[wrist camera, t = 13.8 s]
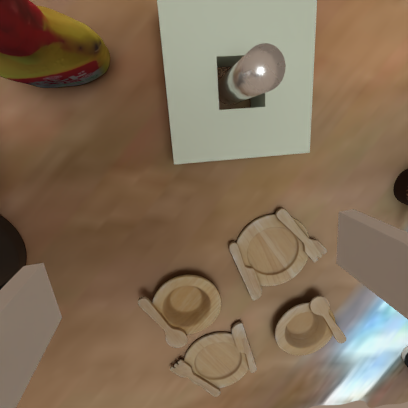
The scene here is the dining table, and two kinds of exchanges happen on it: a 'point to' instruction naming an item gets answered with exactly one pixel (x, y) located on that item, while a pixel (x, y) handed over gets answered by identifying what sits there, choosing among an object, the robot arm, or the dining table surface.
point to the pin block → (227, 57)
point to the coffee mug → (402, 187)
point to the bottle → (48, 47)
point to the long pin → (252, 74)
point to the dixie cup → (405, 355)
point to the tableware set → (254, 278)
